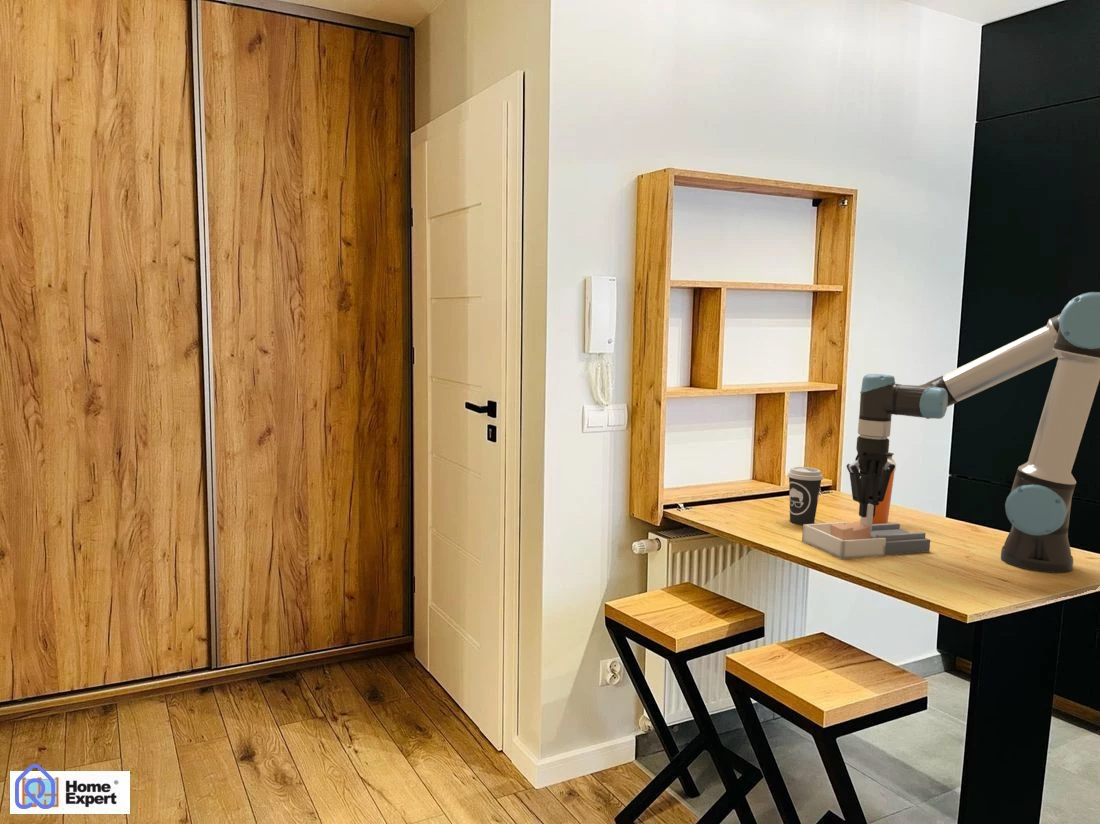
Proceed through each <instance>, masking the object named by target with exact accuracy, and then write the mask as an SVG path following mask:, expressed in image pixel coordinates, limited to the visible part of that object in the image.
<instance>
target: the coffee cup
mask: <svg viewBox="0 0 1100 824" xmlns="http://www.w3.org/2000/svg"><path fill="white" fill-rule="evenodd" d="M787 477H788V484H789V485H788V486H789V487H788V489H789V522H790V523H792V524H793V525H797V526H803V524H815V519H816V513H817V507H818V502H819V496H820V491H821V485H822V480H824V476H823V474H822V472H821V470H820V469H818V468H815V467H809V466H807V467H806V466H792V467H791V468H790V470H789V471H788V473H787Z"/></svg>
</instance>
